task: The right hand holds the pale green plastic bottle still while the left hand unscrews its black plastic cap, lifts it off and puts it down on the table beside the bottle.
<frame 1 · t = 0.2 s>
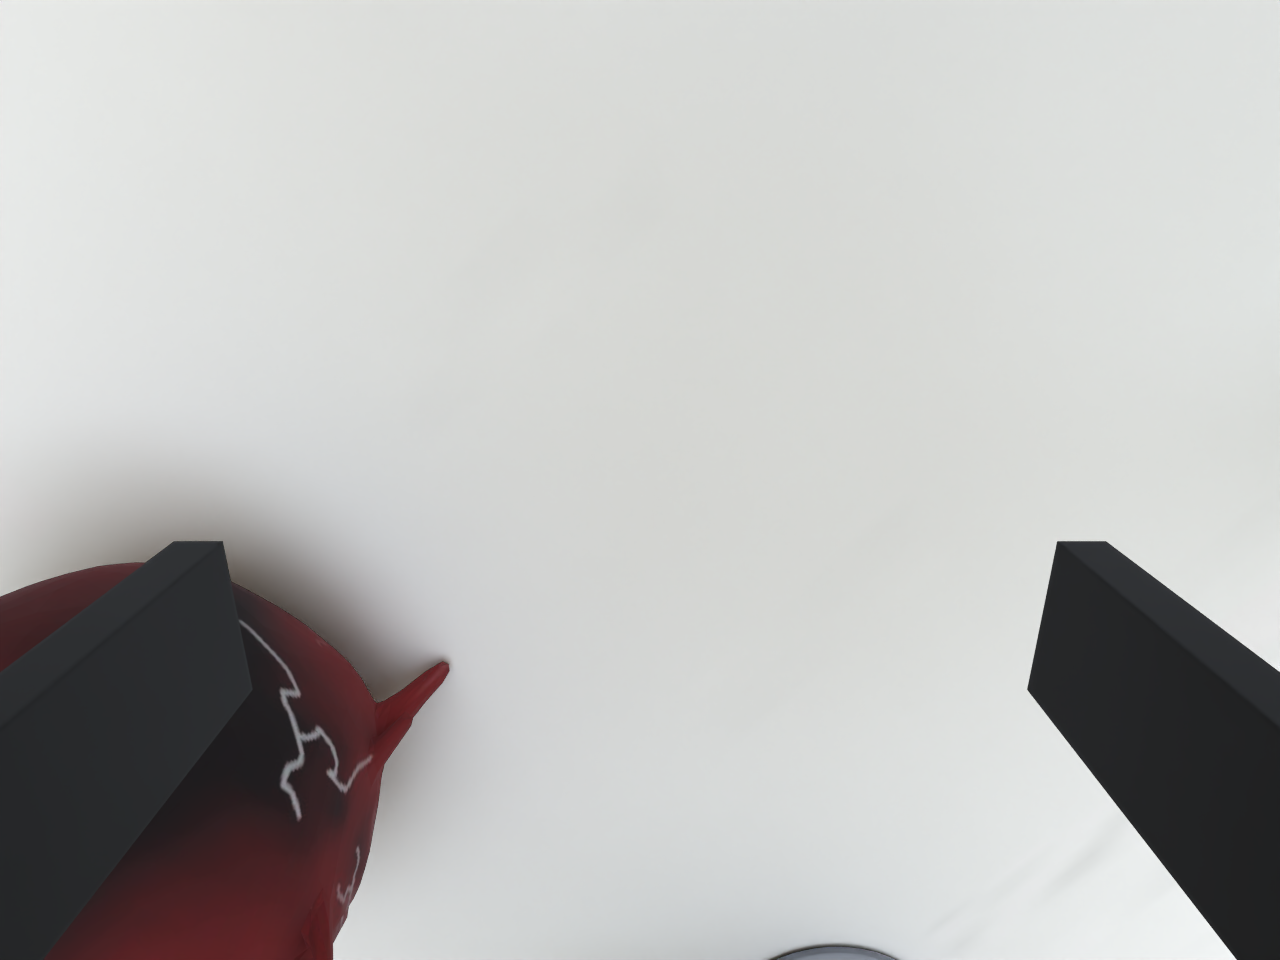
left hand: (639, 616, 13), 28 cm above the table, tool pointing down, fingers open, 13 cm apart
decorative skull: (224, 704, 47), on the table
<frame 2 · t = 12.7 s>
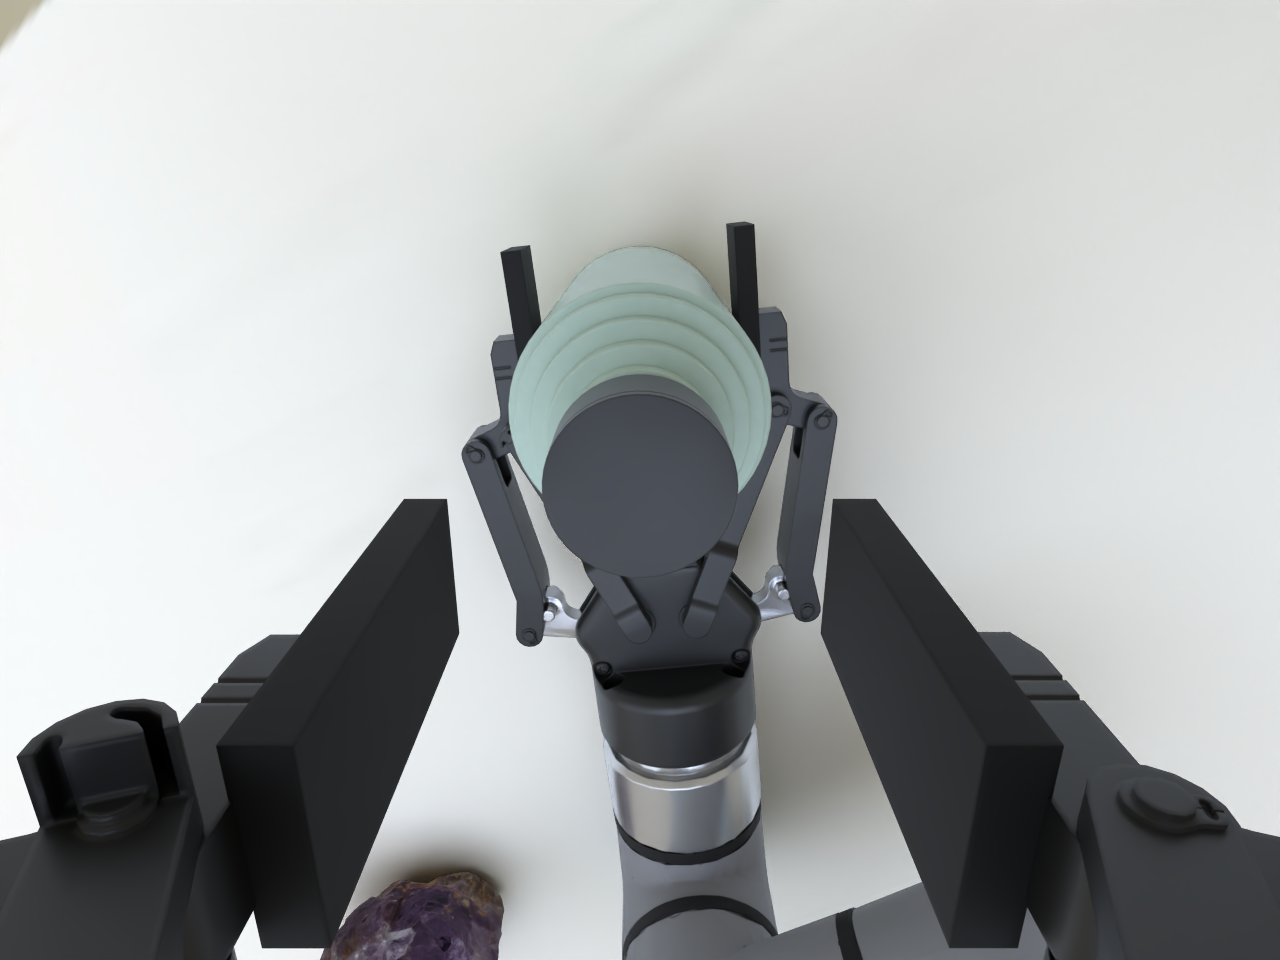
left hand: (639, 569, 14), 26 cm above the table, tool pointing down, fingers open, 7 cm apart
right hand: (627, 236, 30), fingers closed on bottle, 8 cm apart
cap: (640, 485, 18), point 21 cm above the table, screwed on, not yet turned
bottle: (640, 331, 38), on the table, touching right hand
rock: (417, 905, 51), on the table
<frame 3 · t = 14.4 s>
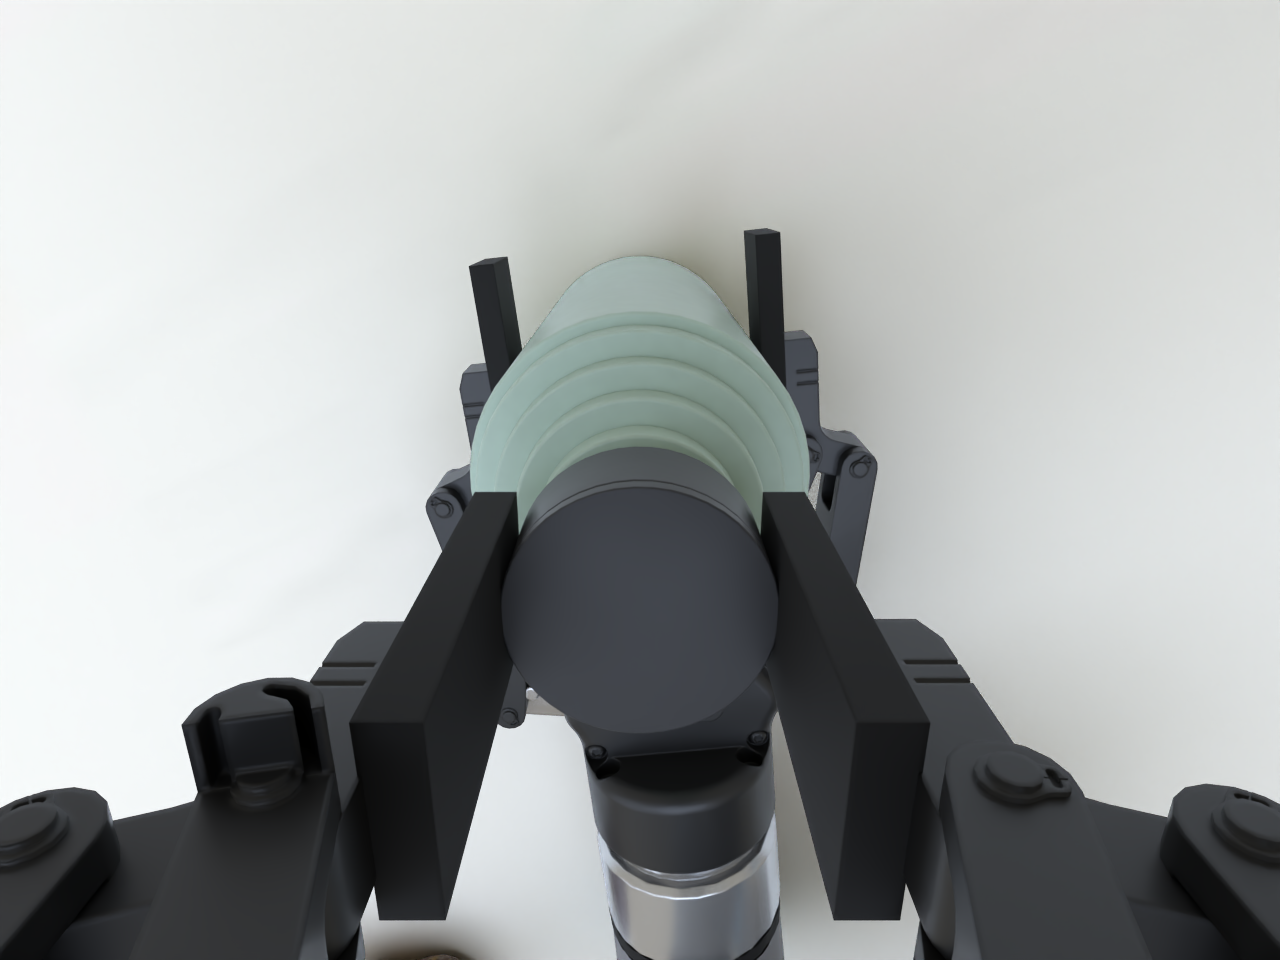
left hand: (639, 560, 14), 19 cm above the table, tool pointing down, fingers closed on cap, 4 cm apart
cap: (639, 608, 13), point 21 cm above the table, screwed on, not yet turned, touching left hand
bottle: (639, 354, 33), on the table, touching right hand
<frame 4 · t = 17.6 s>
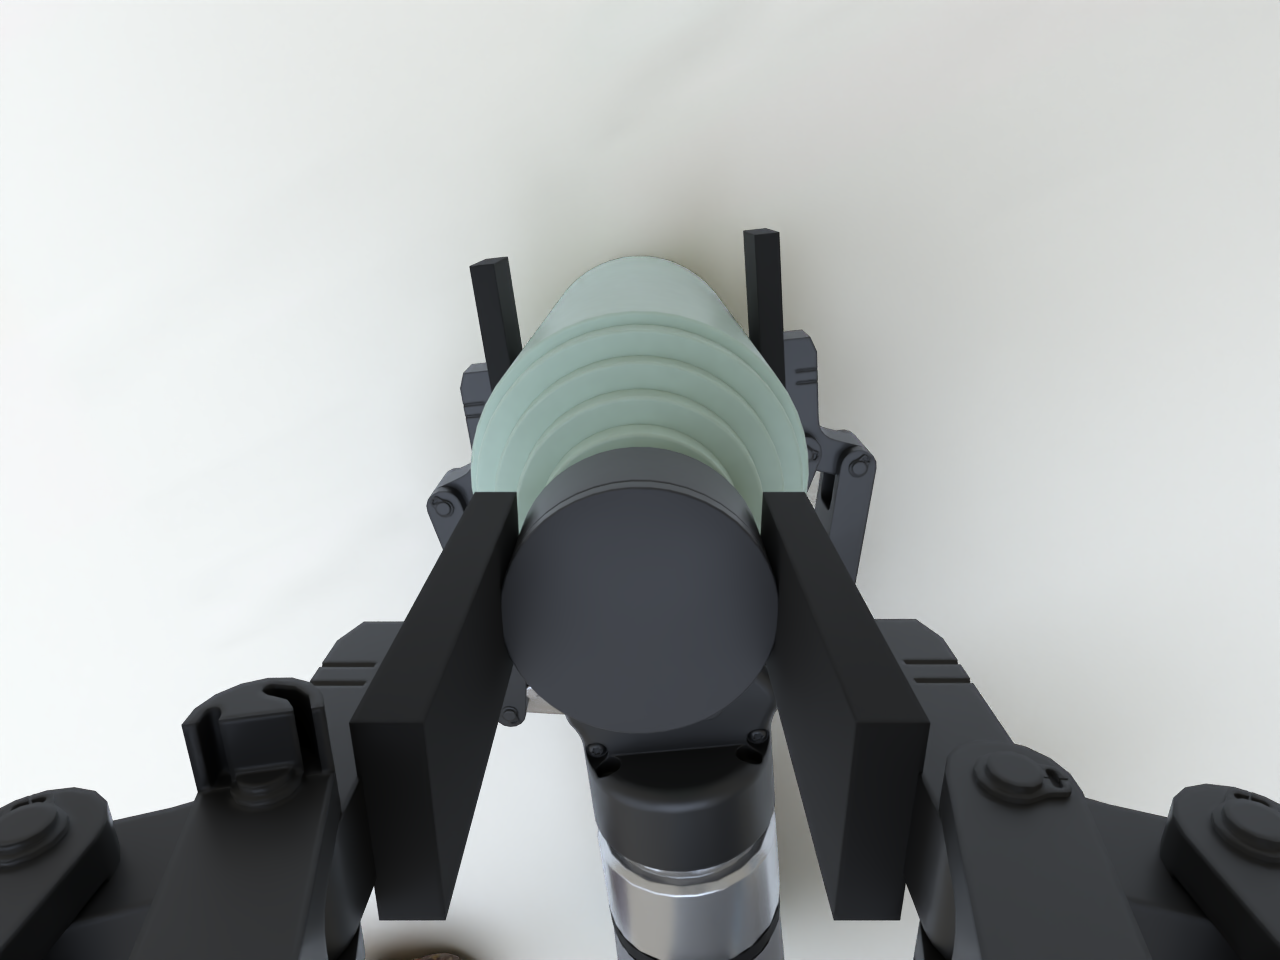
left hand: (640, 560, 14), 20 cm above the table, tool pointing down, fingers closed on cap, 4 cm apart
cap: (639, 609, 13), point 21 cm above the table, turned 98° so far, risen 0.1 cm, still on its thread, touching left hand
bottle: (639, 354, 33), on the table, touching right hand
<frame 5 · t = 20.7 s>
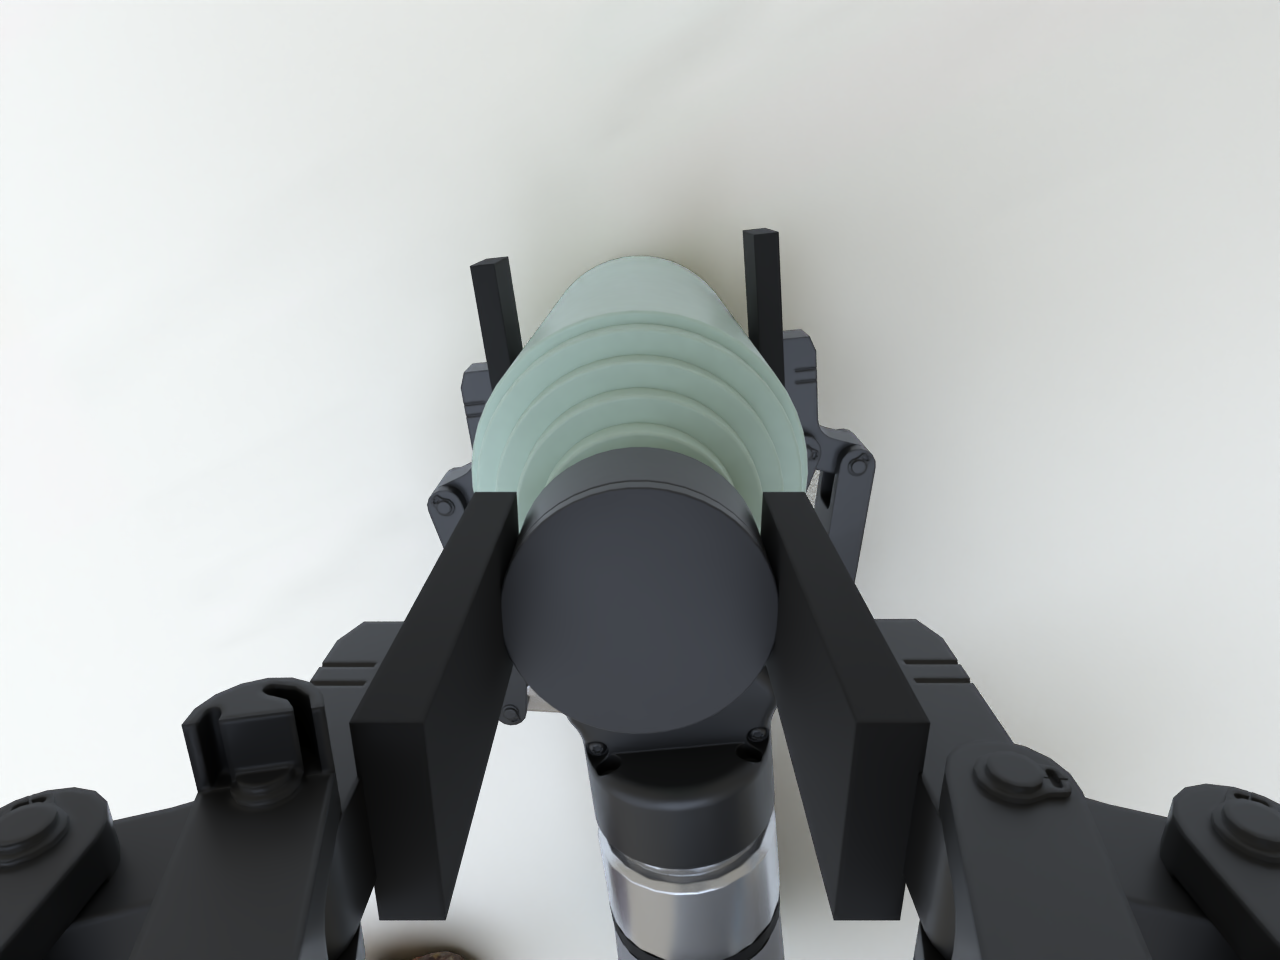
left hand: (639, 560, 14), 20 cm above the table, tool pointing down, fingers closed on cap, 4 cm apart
cap: (639, 609, 13), point 21 cm above the table, turned 197° so far, risen 0.2 cm, still on its thread, touching left hand
bottle: (639, 353, 33), on the table, touching right hand
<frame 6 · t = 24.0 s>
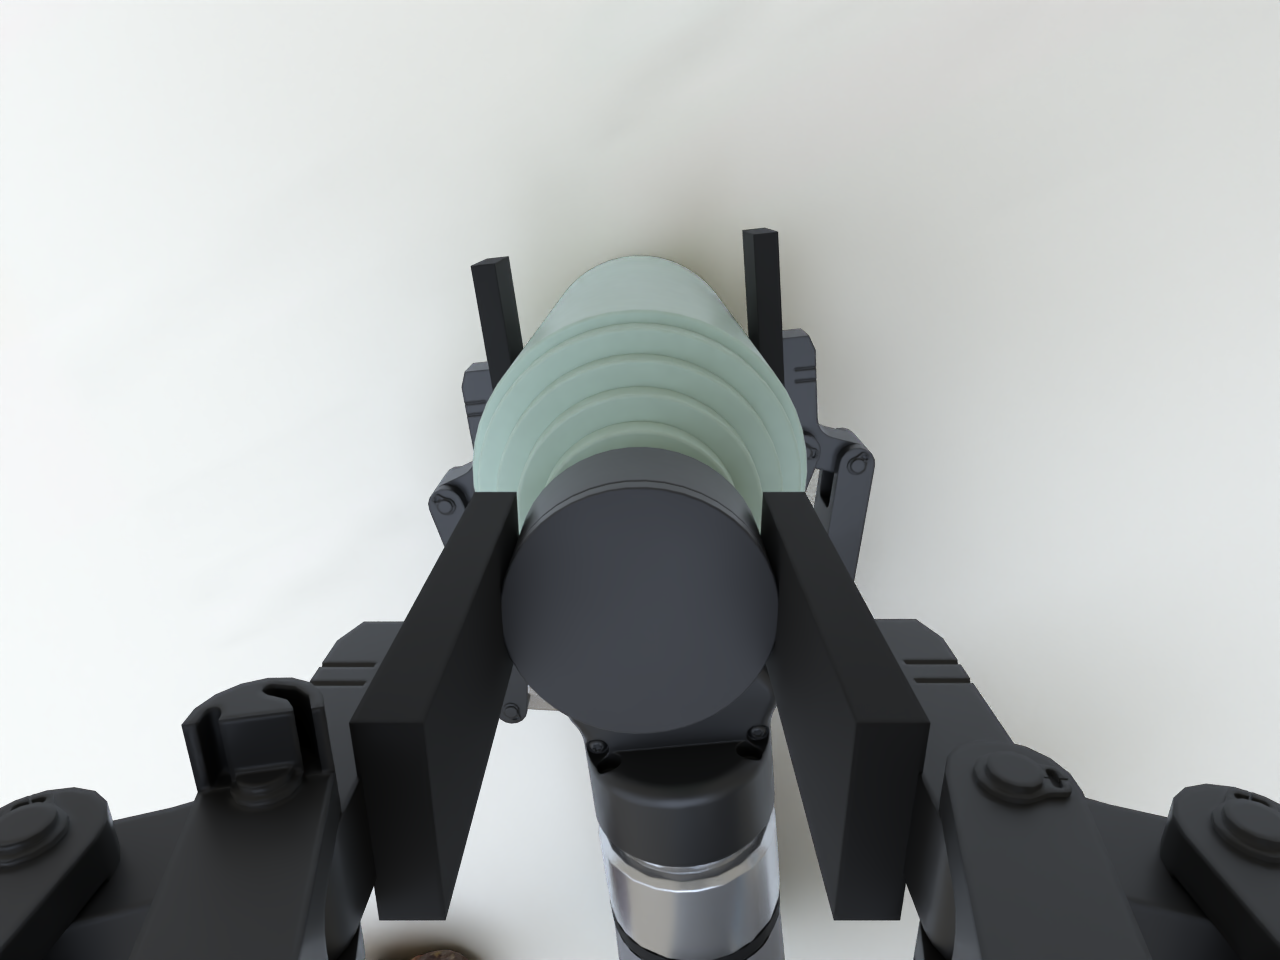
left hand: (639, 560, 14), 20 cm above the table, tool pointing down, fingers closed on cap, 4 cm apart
cap: (639, 609, 13), point 22 cm above the table, turned 295° so far, risen 0.3 cm, still on its thread, touching left hand
bottle: (639, 353, 33), on the table, touching right hand
when the left hand's fingers open (2 cm above the table, at t = 31.3 s): cap drops 2 cm, point 2 cm above the table.
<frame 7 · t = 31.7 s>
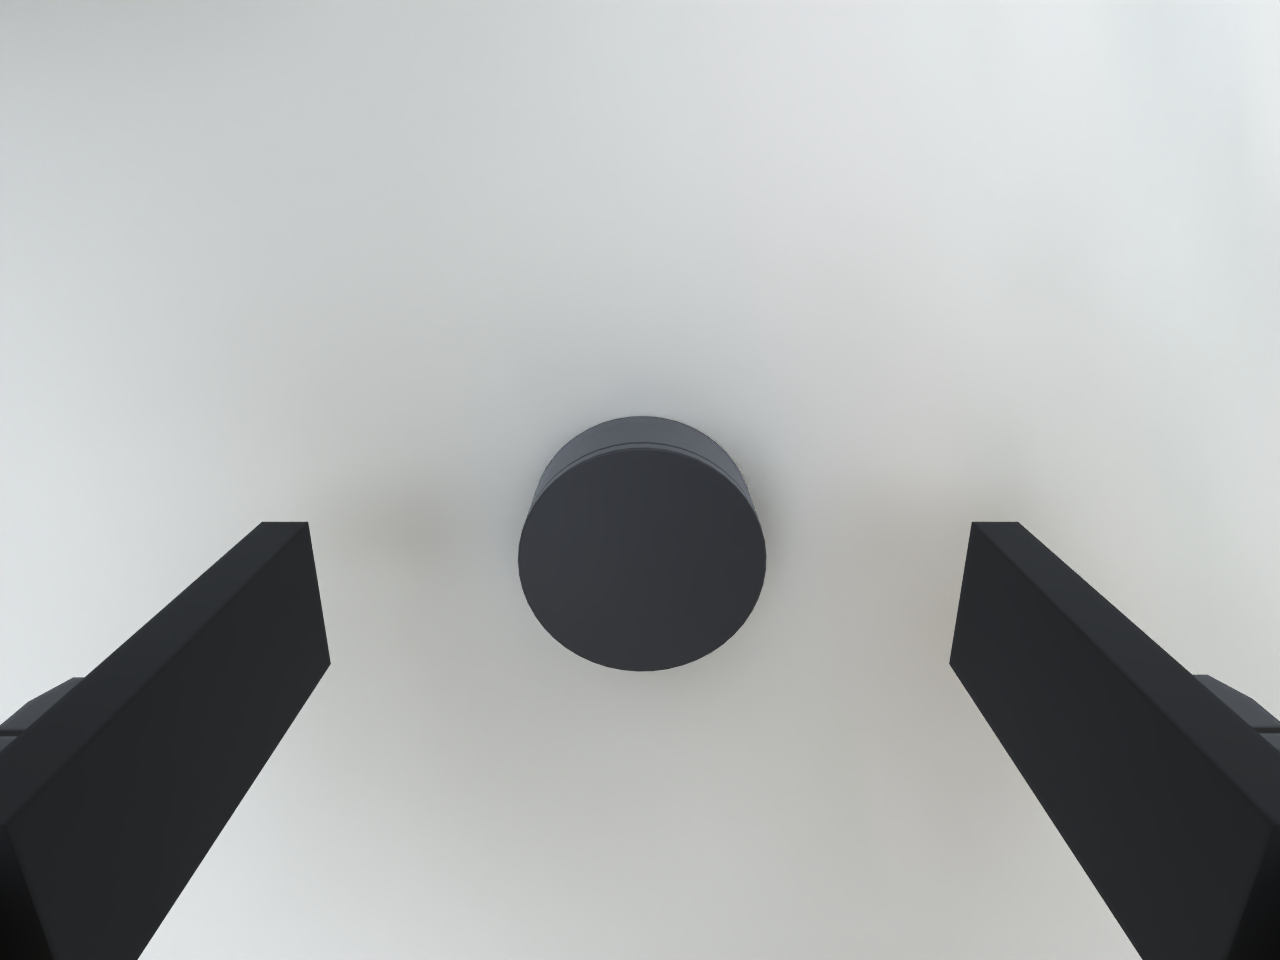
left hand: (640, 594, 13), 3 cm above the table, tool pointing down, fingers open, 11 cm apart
cap: (642, 558, 14), point 2 cm above the table, off its thread
when the right hand's fingers open (7 cm above the table, at t = 32.5 s): bottle stays where it is, on the table.
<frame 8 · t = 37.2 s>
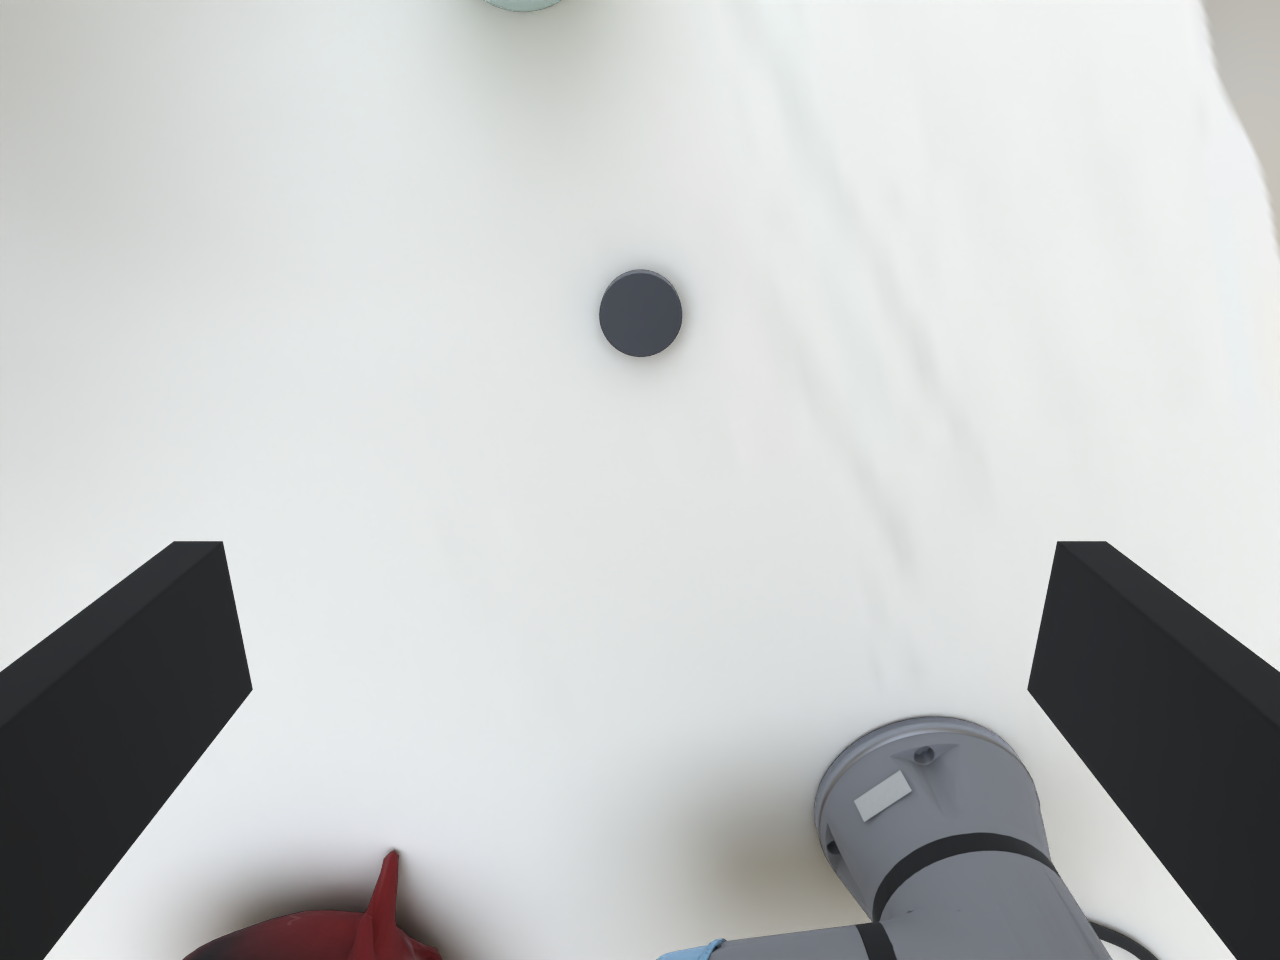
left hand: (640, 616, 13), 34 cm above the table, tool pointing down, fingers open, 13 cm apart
cap: (640, 315, 43), point 2 cm above the table, off its thread
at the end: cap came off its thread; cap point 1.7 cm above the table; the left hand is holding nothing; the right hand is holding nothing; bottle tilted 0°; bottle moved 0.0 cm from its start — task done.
